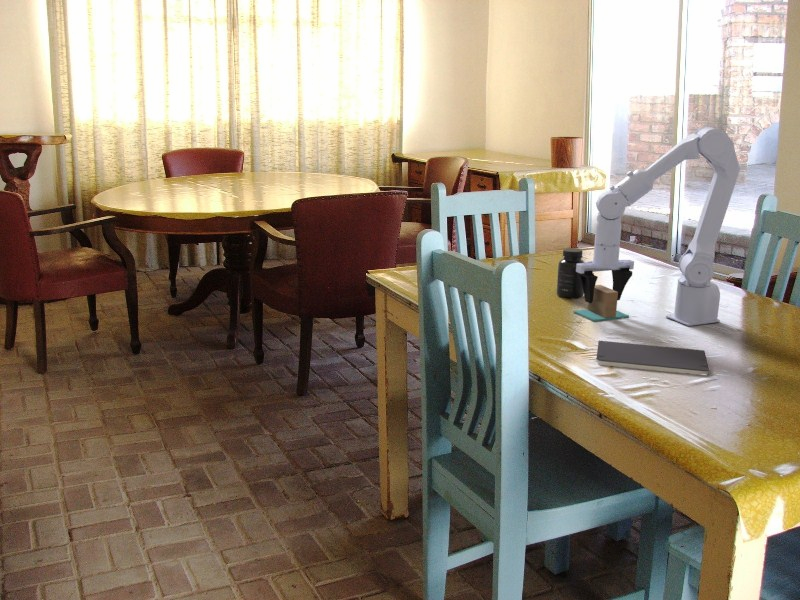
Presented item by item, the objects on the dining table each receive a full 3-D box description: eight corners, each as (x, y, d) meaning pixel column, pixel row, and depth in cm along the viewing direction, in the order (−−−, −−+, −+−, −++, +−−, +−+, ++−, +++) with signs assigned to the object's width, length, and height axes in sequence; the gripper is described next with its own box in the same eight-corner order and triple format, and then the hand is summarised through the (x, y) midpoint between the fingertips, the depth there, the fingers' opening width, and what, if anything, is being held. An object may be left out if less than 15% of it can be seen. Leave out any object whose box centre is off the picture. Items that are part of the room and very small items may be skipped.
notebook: (703, 357, 177) (597, 347, 182) (704, 350, 176) (598, 340, 181) (709, 378, 165) (595, 367, 170) (710, 370, 165) (596, 359, 170)
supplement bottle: (563, 290, 224) (566, 245, 221) (587, 295, 220) (591, 249, 217) (551, 296, 219) (554, 250, 215) (576, 301, 215) (580, 254, 212)
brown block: (587, 310, 206) (589, 285, 204) (598, 308, 207) (600, 284, 205) (604, 318, 199) (607, 293, 198) (615, 316, 200) (618, 292, 199)
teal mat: (607, 308, 209) (607, 306, 209) (628, 317, 202) (629, 315, 202) (573, 312, 205) (573, 310, 205) (593, 321, 198) (593, 319, 198)
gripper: (590, 249, 193) (585, 307, 196) (644, 245, 198) (638, 302, 201) (572, 243, 199) (568, 299, 203) (625, 239, 204) (620, 294, 208)
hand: (602, 300), depth 202 cm, fingers open, 7 cm apart
